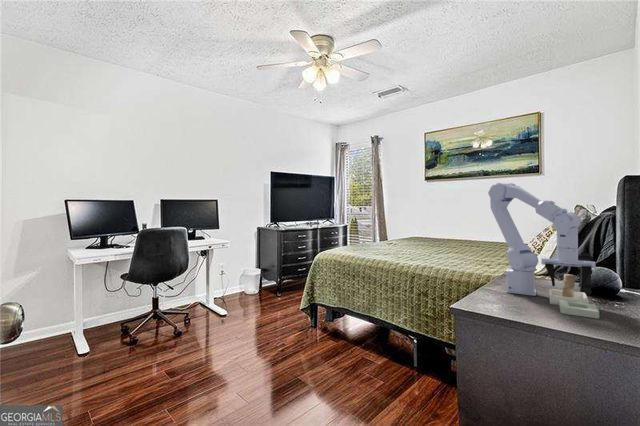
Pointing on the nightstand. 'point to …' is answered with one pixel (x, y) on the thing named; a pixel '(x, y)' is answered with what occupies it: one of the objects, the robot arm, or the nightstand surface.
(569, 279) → the dowel
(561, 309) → the holder
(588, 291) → the magazine
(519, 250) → the robot arm
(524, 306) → the nightstand surface
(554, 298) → the tray
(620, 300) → the nightstand surface
